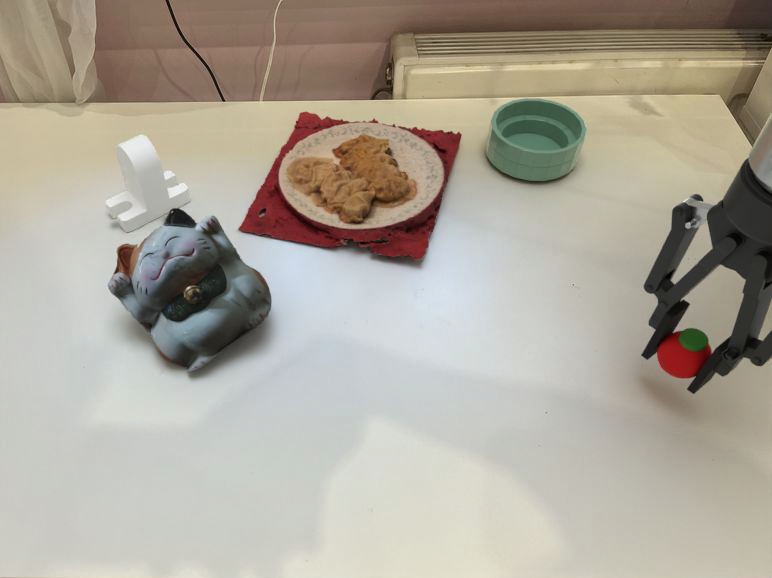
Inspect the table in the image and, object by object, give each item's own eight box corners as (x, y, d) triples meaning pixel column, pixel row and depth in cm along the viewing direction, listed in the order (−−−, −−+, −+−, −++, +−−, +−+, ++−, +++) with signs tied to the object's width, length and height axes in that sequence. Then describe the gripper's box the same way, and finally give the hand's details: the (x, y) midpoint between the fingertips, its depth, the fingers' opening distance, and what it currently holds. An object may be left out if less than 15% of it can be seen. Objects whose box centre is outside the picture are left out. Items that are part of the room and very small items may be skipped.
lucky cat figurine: (165, 391, 73) (86, 288, 65) (159, 340, 83) (91, 246, 76) (288, 322, 72) (222, 211, 65) (267, 279, 83) (208, 179, 75)
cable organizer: (192, 200, 91) (178, 136, 84) (127, 233, 88) (106, 170, 80) (171, 181, 94) (156, 117, 86) (107, 212, 91) (85, 149, 83)
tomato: (692, 350, 69) (713, 319, 65) (705, 388, 66) (728, 358, 62) (645, 349, 69) (663, 318, 65) (656, 387, 66) (675, 356, 62)
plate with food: (460, 144, 97) (464, 123, 94) (422, 266, 82) (424, 245, 79) (301, 120, 102) (300, 99, 100) (238, 230, 87) (234, 209, 85)
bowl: (568, 130, 98) (577, 98, 94) (582, 185, 91) (594, 153, 87) (481, 128, 99) (487, 97, 95) (489, 183, 91) (496, 152, 87)
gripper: (662, 139, 52) (578, 331, 70) (903, 269, 43) (734, 450, 61) (721, 101, 54) (625, 297, 73) (960, 217, 45) (781, 406, 64)
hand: (675, 367), depth 67 cm, fingers closed on tomato, 4 cm apart
